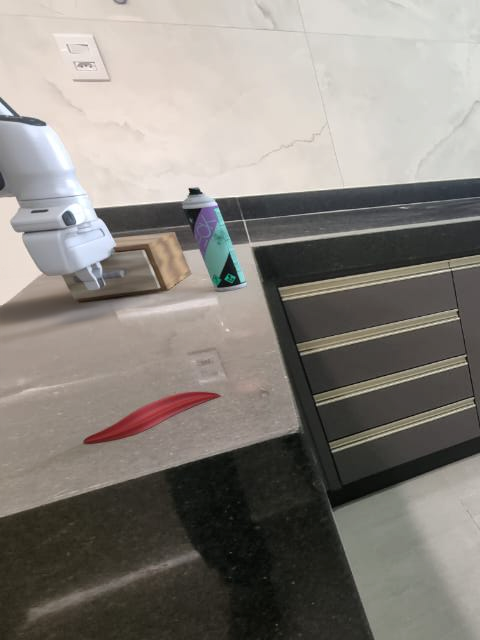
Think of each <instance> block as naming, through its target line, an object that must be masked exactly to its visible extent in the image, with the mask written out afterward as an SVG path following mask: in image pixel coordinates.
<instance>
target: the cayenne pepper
mask: <svg viewBox="0 0 480 640" xmlns="http://www.w3.org/2000/svg"><path fill="white" fill-rule="evenodd" d="M220 397H222V395H220V394H219V393H216V392H211V391H210V392H209V391H187V392H186V391H185V392H180V393H176V394H171V395H168V396H166V397H163V398H160V399H158V400H155V401H152V402H150V403H147V404H146V405H144V406H141V407H139V408H138V409H136V410H134V411H132V412H130V413H129V414H128V415H126V416H125V417H123V418H122V419H120V420H118V421H117V422H116V423H114V424H112V425H110V426H108V427H107V428H104V429H102V430H100V431H98V432H95V433H93V434H91V435H88V436H87V437H86V438H84V440H83V441H82V443H83V444H97V443H103V442H109V441H114V440H118V439H122V438H123V439H124V438H127V437H130V436H133V435H136V434H139V433H143V432H144V431H146V430H147V431H148V430H149V429H150V428H153V427H155V426H157V425H158V424H160V423H161V422H163V421H165V420H167V419H169V418H171V417H173V416H175V415H177V414H180V413H181V412H184V411H186V410H188V409H191V408H193V407H196V406H198V405H200V404H202V403H205V402H208V401H210V400H213V399H217V398H220Z"/></svg>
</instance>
